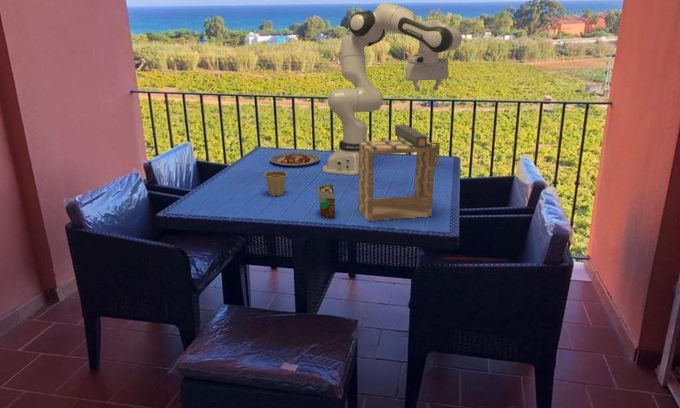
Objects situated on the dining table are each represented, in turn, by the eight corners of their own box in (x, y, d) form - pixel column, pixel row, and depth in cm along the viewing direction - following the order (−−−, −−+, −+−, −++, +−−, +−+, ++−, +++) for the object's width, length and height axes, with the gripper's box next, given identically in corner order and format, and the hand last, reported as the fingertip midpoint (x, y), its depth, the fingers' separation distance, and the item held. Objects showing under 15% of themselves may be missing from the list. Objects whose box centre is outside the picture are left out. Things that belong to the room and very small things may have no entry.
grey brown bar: (394, 135, 201) (395, 124, 199) (404, 134, 201) (405, 124, 200) (416, 148, 178) (417, 137, 177) (427, 148, 179) (428, 136, 178)
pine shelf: (358, 208, 197) (359, 138, 188) (417, 204, 202) (421, 135, 193) (368, 221, 184) (369, 146, 176) (431, 217, 189) (436, 143, 180)
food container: (316, 208, 198) (316, 183, 194) (332, 208, 198) (332, 183, 195) (317, 220, 186) (317, 193, 183) (335, 219, 186) (335, 193, 183)
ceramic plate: (275, 155, 279) (275, 150, 278) (323, 157, 277) (323, 151, 276) (264, 168, 255) (264, 162, 254) (316, 169, 253) (316, 163, 252)
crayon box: (436, 163, 263) (438, 141, 259) (438, 165, 260) (440, 142, 256) (422, 164, 262) (424, 141, 258) (424, 165, 259) (426, 143, 255)
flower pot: (291, 191, 217) (291, 172, 215) (282, 198, 209) (281, 178, 206) (271, 189, 220) (270, 170, 218) (261, 196, 212) (260, 175, 209)
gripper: (444, 57, 231) (442, 88, 236) (404, 58, 224) (402, 90, 228) (452, 58, 226) (450, 90, 230) (411, 59, 218) (409, 92, 223)
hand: (426, 90), depth 229 cm, fingers open, 8 cm apart
